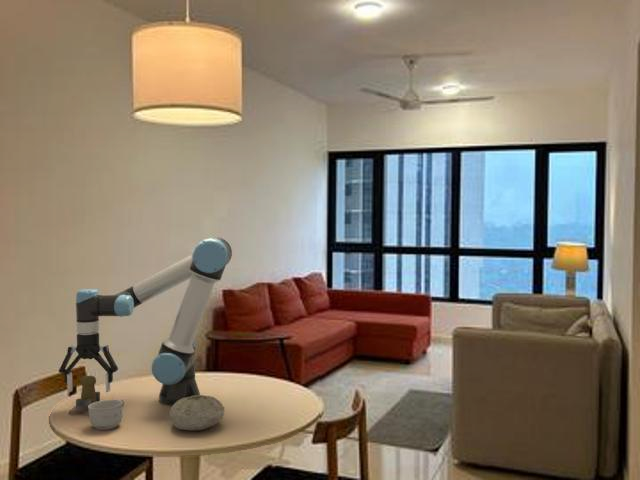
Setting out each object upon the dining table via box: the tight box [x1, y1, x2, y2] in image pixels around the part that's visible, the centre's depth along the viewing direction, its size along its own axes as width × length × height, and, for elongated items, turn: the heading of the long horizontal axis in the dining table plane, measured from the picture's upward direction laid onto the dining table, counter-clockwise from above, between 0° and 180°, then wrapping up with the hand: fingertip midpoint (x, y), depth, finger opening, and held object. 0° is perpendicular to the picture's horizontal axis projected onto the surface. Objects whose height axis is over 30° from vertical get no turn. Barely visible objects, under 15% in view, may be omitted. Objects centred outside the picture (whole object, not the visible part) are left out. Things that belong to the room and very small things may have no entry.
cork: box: [80, 375, 97, 404], centre depth 224 cm, size 6×6×11 cm
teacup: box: [88, 398, 125, 431], centre depth 208 cm, size 14×11×8 cm
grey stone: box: [169, 394, 225, 432], centre depth 208 cm, size 18×18×10 cm
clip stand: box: [68, 391, 101, 415], centre depth 224 cm, size 10×10×5 cm
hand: (89, 391), depth 224 cm, fingers open, 13 cm apart
